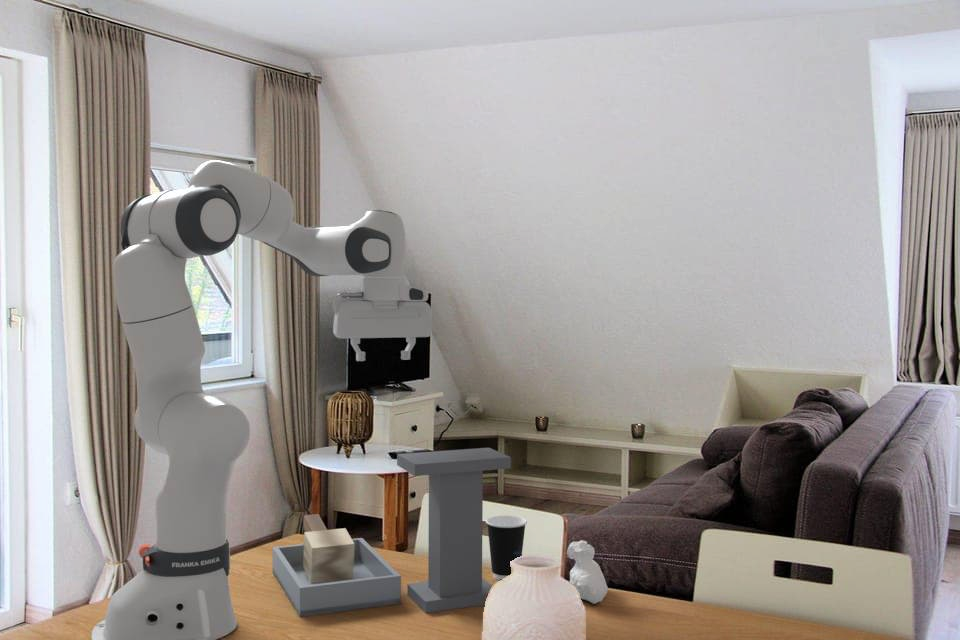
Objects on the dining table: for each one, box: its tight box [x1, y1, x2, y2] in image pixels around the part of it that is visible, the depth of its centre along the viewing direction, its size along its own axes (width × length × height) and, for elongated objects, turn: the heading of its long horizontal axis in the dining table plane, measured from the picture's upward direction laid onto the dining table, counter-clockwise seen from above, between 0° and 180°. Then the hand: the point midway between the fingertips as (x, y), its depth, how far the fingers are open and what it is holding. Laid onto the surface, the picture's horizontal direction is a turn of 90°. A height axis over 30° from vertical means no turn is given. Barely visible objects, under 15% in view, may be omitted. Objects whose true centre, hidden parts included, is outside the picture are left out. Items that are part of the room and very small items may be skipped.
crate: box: [272, 537, 402, 618], centre depth 176 cm, size 18×26×5 cm
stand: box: [396, 447, 512, 614], centre depth 170 cm, size 18×10×26 cm, turn 112°
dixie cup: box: [485, 515, 528, 581], centre depth 183 cm, size 8×8×11 cm
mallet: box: [303, 513, 355, 583], centre depth 185 cm, size 8×19×7 cm, turn 23°
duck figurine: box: [566, 539, 609, 605], centre depth 172 cm, size 12×8×11 cm
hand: (383, 360), depth 192 cm, fingers open, 8 cm apart
